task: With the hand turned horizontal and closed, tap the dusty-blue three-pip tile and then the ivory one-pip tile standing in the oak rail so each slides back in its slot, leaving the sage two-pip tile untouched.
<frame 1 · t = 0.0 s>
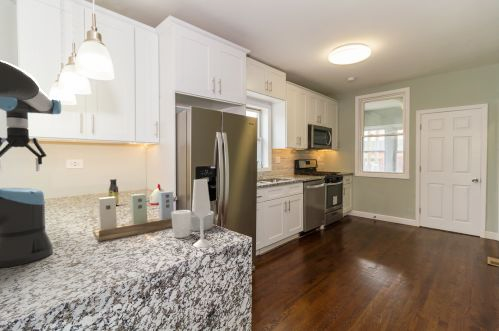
hand: (19, 171, 116), 28 cm above the counter, tool pointing down, fingers open, 13 cm apart
white cup: (181, 236, 100), on the counter
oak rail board: (140, 228, 112), on the counter
ramekin: (200, 228, 111), on the counter
sauce bottle: (113, 206, 175), on the counter
tile 3: (166, 205, 122), point 9 cm above the counter, slide at 0.0 cm
champagne flute: (202, 244, 89), on the counter
kitchen timer: (159, 204, 180), on the counter
tile 1: (107, 213, 105), point 9 cm above the counter, slide at 0.0 cm
tile 2: (139, 209, 114), point 9 cm above the counter, slide at 0.0 cm
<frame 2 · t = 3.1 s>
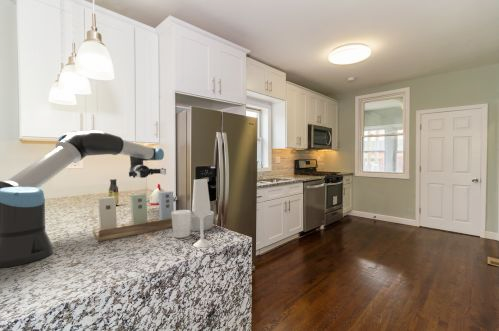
hand: (152, 173, 130), 25 cm above the counter, tool horizontal, fingers open, 13 cm apart
nothing on the counter moved.
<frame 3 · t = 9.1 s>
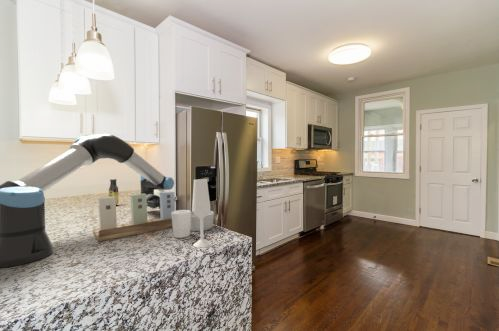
hand: (167, 206, 123), 8 cm above the counter, tool horizontal, fingers closed
tile 3: (167, 206, 120), point 9 cm above the counter, slide at 1.7 cm, touching gripper
everything else where it was.
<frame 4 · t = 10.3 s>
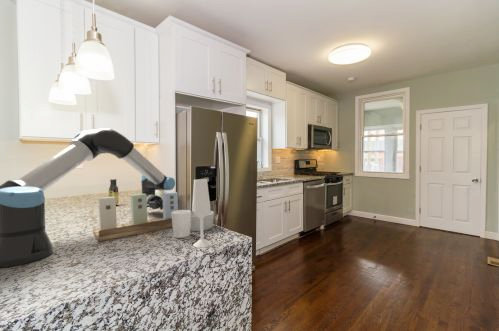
hand: (168, 207, 119), 8 cm above the counter, tool horizontal, fingers closed
tile 3: (170, 207, 117), point 9 cm above the counter, slide at 5.8 cm, touching gripper
everything else where it was.
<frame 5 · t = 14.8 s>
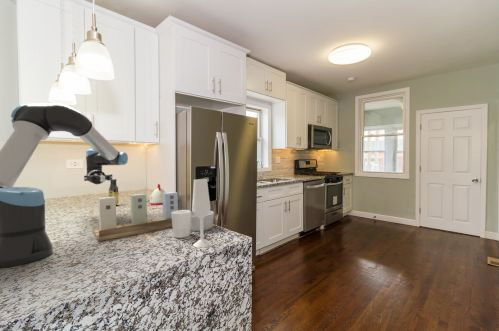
hand: (103, 178, 113), 24 cm above the counter, tool horizontal, fingers closed
tile 3: (170, 207, 117), point 9 cm above the counter, slide at 5.8 cm
everything else where it was.
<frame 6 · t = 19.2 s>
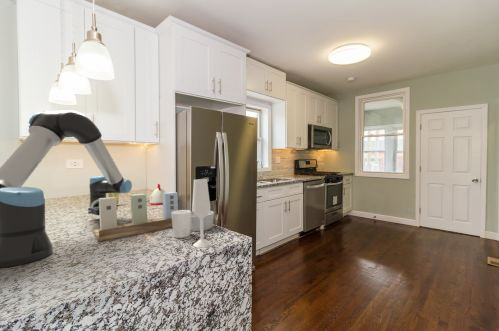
hand: (108, 214, 106), 8 cm above the counter, tool horizontal, fingers closed
tile 1: (108, 214, 104), point 9 cm above the counter, slide at 1.5 cm
everything else where it was.
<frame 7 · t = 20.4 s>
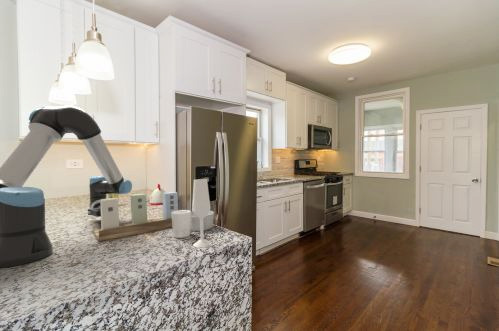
hand: (109, 215, 103), 8 cm above the counter, tool horizontal, fingers closed
tile 1: (109, 215, 101), point 9 cm above the counter, slide at 5.8 cm, touching gripper
everything else where it was.
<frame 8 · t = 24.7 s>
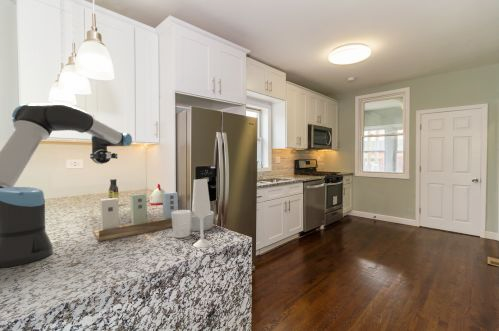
hand: (109, 155, 116), 35 cm above the counter, tool horizontal, fingers closed
tile 1: (109, 215, 101), point 9 cm above the counter, slide at 5.8 cm
everything else where it was.
at the end: tile 3 slide at 5.8 cm; tile 1 slide at 5.8 cm; tile 2 slide at 0.0 cm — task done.
